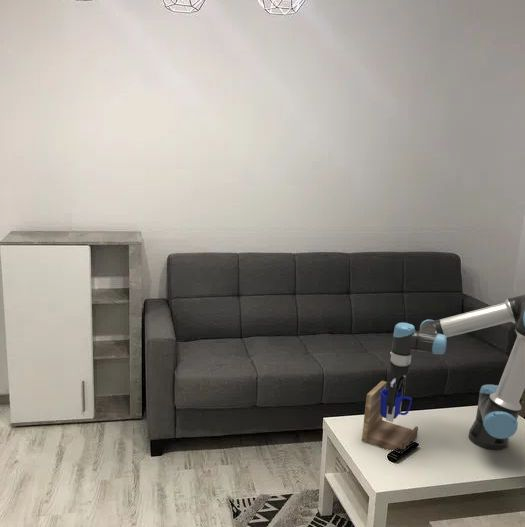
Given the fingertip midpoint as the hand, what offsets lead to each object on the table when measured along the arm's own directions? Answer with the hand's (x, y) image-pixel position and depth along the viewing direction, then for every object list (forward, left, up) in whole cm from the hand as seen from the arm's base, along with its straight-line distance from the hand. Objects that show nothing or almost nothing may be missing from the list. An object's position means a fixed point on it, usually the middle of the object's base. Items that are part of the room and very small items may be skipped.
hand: (393, 417), depth 241 cm
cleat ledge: (0, 0, -10) cm, 10 cm away
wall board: (+8, 0, -10) cm, 13 cm away
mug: (0, -1, 0) cm, 1 cm away
